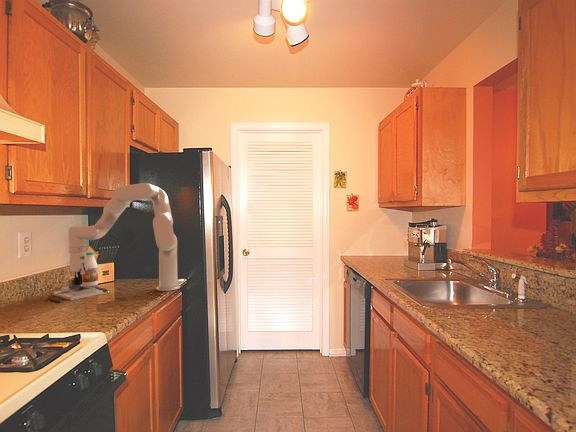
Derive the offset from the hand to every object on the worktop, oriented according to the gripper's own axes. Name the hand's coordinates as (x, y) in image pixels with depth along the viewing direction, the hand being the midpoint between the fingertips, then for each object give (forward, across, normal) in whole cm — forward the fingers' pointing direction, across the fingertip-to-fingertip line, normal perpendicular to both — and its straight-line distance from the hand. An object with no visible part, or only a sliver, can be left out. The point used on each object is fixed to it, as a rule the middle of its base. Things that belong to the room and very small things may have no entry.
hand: (78, 284), depth 165 cm
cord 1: (+5, -4, +12) cm, 14 cm away
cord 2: (+5, 0, -11) cm, 12 cm away
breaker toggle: (+3, +4, 0) cm, 6 cm away
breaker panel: (+5, 0, 0) cm, 5 cm away
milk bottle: (+5, +16, -13) cm, 21 cm away
